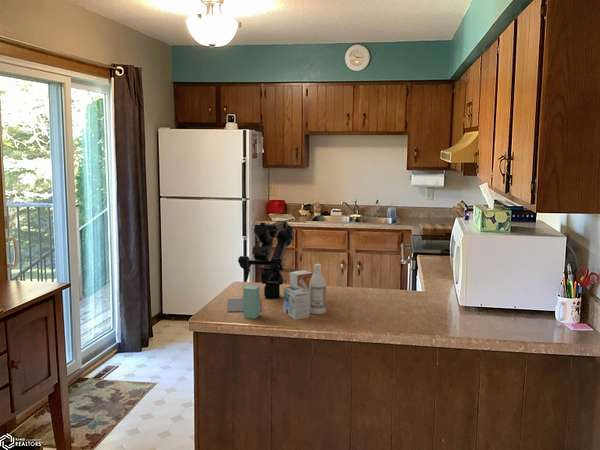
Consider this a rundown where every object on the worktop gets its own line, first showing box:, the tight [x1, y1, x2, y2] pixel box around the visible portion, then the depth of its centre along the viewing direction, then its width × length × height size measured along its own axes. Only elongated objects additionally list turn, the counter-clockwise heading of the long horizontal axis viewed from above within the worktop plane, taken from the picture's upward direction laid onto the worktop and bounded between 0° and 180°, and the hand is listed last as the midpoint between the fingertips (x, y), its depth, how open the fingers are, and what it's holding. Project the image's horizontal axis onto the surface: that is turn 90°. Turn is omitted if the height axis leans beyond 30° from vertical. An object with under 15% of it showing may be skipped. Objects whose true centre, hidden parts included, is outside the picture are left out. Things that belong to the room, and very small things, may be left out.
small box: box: [289, 269, 313, 291], centre depth 238 cm, size 8×6×13 cm
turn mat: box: [226, 298, 262, 313], centre depth 232 cm, size 14×18×1 cm
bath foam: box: [309, 263, 327, 315], centre depth 222 cm, size 7×7×20 cm
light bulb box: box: [283, 286, 310, 321], centre depth 219 cm, size 11×7×11 cm, turn 29°
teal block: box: [242, 284, 261, 320], centre depth 216 cm, size 5×5×12 cm
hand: (256, 280), depth 222 cm, fingers open, 9 cm apart
